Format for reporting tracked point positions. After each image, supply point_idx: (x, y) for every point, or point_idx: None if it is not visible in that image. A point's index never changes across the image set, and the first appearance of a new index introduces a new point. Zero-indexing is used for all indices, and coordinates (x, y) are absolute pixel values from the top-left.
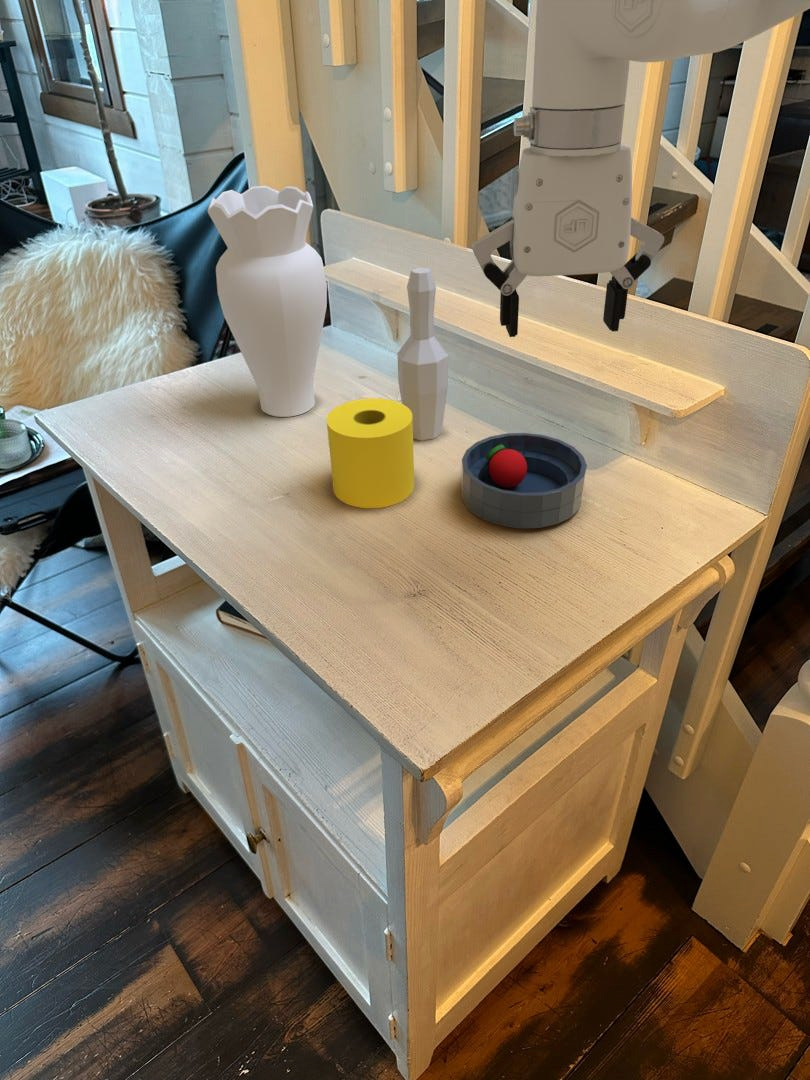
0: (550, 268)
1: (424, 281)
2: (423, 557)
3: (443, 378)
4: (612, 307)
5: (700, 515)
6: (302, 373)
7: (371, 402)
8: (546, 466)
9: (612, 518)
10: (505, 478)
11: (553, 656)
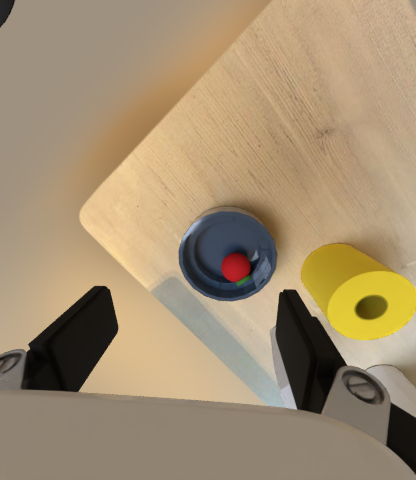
0: (240, 437)
1: None
2: (310, 179)
3: (280, 367)
4: (82, 318)
5: (111, 219)
6: (393, 401)
7: (362, 332)
8: (205, 272)
9: (168, 219)
10: (239, 254)
11: (236, 53)
